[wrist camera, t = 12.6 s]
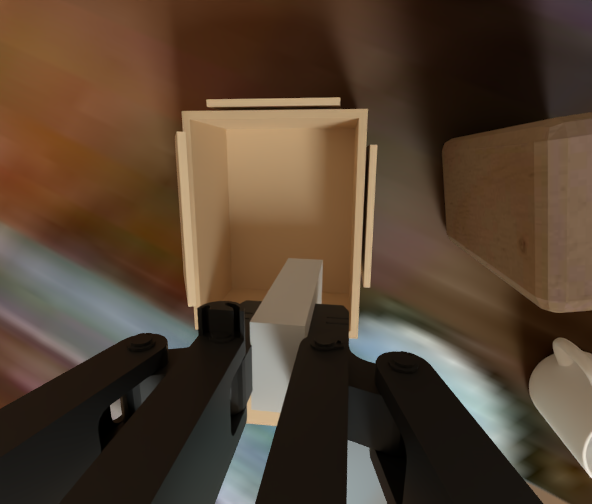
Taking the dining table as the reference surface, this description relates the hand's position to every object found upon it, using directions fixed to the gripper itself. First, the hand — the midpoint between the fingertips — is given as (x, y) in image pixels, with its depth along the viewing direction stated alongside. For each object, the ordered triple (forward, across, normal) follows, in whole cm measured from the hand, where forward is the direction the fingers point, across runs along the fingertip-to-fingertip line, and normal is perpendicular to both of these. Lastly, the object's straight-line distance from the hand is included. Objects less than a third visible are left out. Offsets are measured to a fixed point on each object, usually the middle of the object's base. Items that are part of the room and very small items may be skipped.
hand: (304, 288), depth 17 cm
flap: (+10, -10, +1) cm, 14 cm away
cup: (+24, +25, -16) cm, 38 cm away
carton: (+24, -4, 0) cm, 24 cm away
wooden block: (+24, +16, +3) cm, 29 cm away
